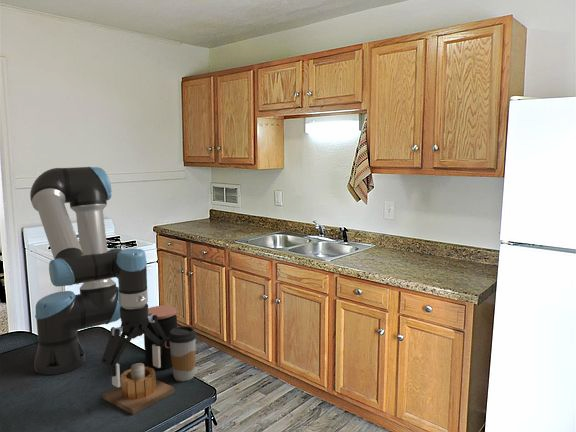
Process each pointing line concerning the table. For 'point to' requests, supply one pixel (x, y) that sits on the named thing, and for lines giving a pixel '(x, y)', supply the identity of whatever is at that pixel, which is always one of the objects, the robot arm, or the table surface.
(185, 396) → the table surface
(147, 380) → the orange ring
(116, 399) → the post block
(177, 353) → the coffee cup
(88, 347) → the table surface
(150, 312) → the coffee jar
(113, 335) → the robot arm
